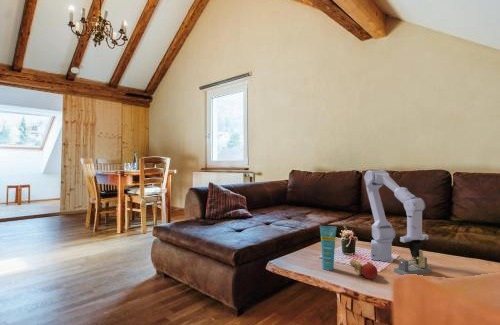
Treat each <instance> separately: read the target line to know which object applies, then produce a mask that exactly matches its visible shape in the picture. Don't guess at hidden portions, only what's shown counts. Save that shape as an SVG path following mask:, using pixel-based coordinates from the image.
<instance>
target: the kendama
mask: <svg viewBox="0 0 500 325" xmlns="http://www.w3.org/2000/svg"><path fill="white" fill-rule="evenodd" d="M349 264H350V265H351V267H353V268H354V272H355V274H357V276H362V275H363V276H364V277H365V278H366V279H368V280H373V279H375V278H377V277H378V269H377V266H375V265H374V264H373V262H371V261H367V262H366V263H365V264H362V263H361V262H359V261H357V260H355V259H353V258H352V259H350V261H349Z"/></svg>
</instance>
